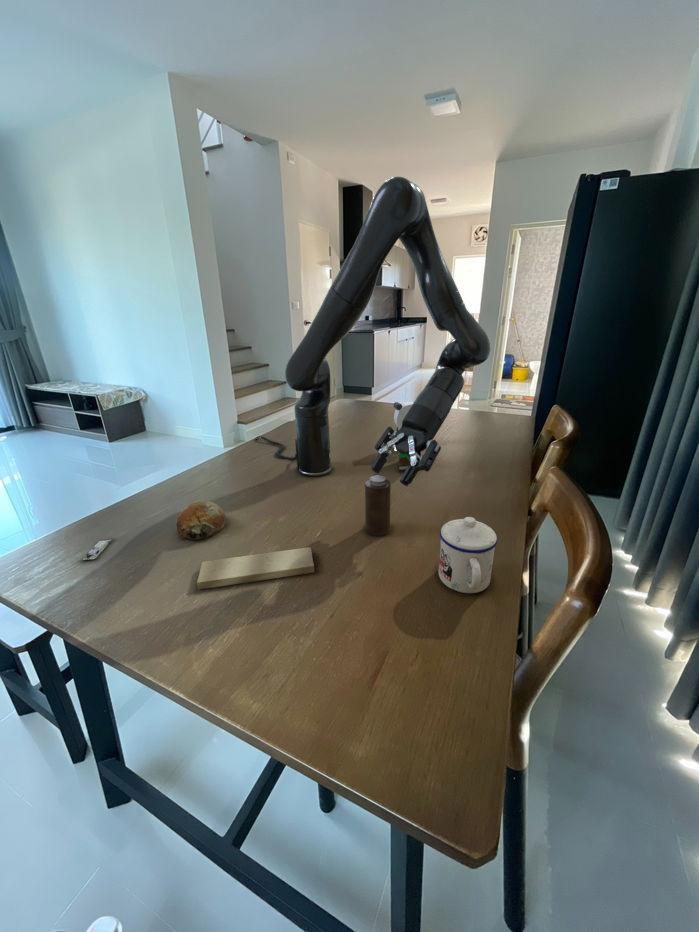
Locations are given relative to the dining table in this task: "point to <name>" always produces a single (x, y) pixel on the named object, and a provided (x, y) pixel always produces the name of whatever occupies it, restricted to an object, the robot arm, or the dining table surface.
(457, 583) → the teacup with lid
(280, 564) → the serving board
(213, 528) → the bread roll
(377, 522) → the pepper mill
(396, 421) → the panda figurine
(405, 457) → the food container
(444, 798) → the dining table surface
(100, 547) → the granola bar
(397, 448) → the robot arm
